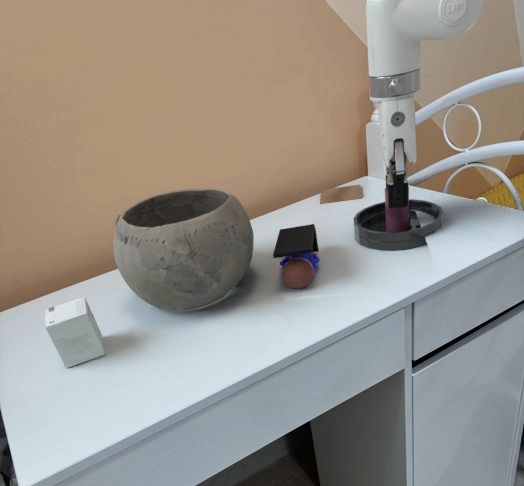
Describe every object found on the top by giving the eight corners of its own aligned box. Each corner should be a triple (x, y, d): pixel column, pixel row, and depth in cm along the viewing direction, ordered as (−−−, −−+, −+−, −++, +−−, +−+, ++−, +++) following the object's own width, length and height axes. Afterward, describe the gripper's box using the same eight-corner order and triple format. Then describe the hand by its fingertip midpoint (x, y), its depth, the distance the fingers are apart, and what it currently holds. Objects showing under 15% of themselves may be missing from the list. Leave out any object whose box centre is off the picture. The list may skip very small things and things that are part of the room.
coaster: (360, 186, 113) (360, 184, 113) (362, 200, 106) (361, 198, 106) (321, 191, 115) (320, 189, 115) (320, 205, 108) (319, 203, 107)
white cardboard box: (106, 355, 73) (87, 313, 69) (65, 369, 72) (43, 327, 68) (102, 336, 78) (85, 295, 74) (64, 349, 77) (44, 308, 73)
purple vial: (407, 226, 90) (407, 164, 84) (410, 234, 87) (410, 172, 81) (385, 228, 91) (383, 168, 85) (387, 237, 88) (385, 175, 82)
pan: (434, 212, 94) (435, 194, 92) (449, 246, 82) (450, 226, 80) (353, 222, 97) (352, 205, 95) (356, 257, 85) (355, 238, 83)
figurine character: (285, 263, 91) (278, 295, 78) (278, 222, 87) (270, 249, 74) (321, 258, 90) (320, 291, 77) (316, 217, 86) (314, 243, 73)
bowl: (288, 284, 81) (273, 194, 72) (160, 342, 73) (127, 249, 65) (224, 247, 98) (206, 171, 90) (116, 290, 91) (85, 212, 82)
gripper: (428, 90, 68) (426, 217, 78) (413, 73, 81) (413, 183, 92) (372, 99, 70) (378, 223, 80) (366, 81, 83) (372, 189, 93)
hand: (396, 200), depth 86 cm, fingers closed on purple vial, 4 cm apart
